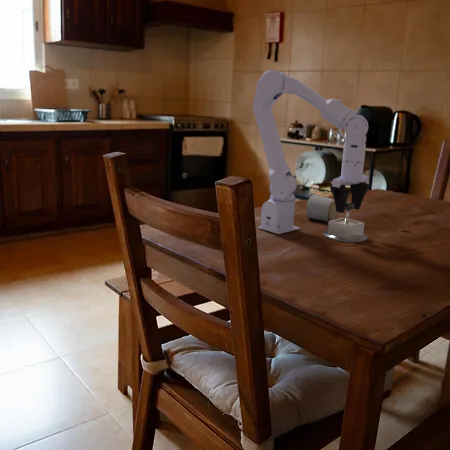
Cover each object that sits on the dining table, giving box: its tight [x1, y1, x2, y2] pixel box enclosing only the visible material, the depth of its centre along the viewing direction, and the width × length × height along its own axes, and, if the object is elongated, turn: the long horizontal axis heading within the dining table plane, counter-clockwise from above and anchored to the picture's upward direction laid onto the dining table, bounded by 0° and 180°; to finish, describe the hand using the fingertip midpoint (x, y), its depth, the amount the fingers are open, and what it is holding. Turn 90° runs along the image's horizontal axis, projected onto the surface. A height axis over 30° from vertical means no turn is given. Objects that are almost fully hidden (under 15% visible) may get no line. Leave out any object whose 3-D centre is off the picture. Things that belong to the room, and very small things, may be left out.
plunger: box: [338, 201, 357, 225], centre depth 141 cm, size 5×5×6 cm
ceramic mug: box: [305, 194, 339, 223], centre depth 160 cm, size 11×8×8 cm
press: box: [323, 217, 368, 244], centre depth 142 cm, size 12×12×4 cm
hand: (347, 210), depth 140 cm, fingers open, 7 cm apart
